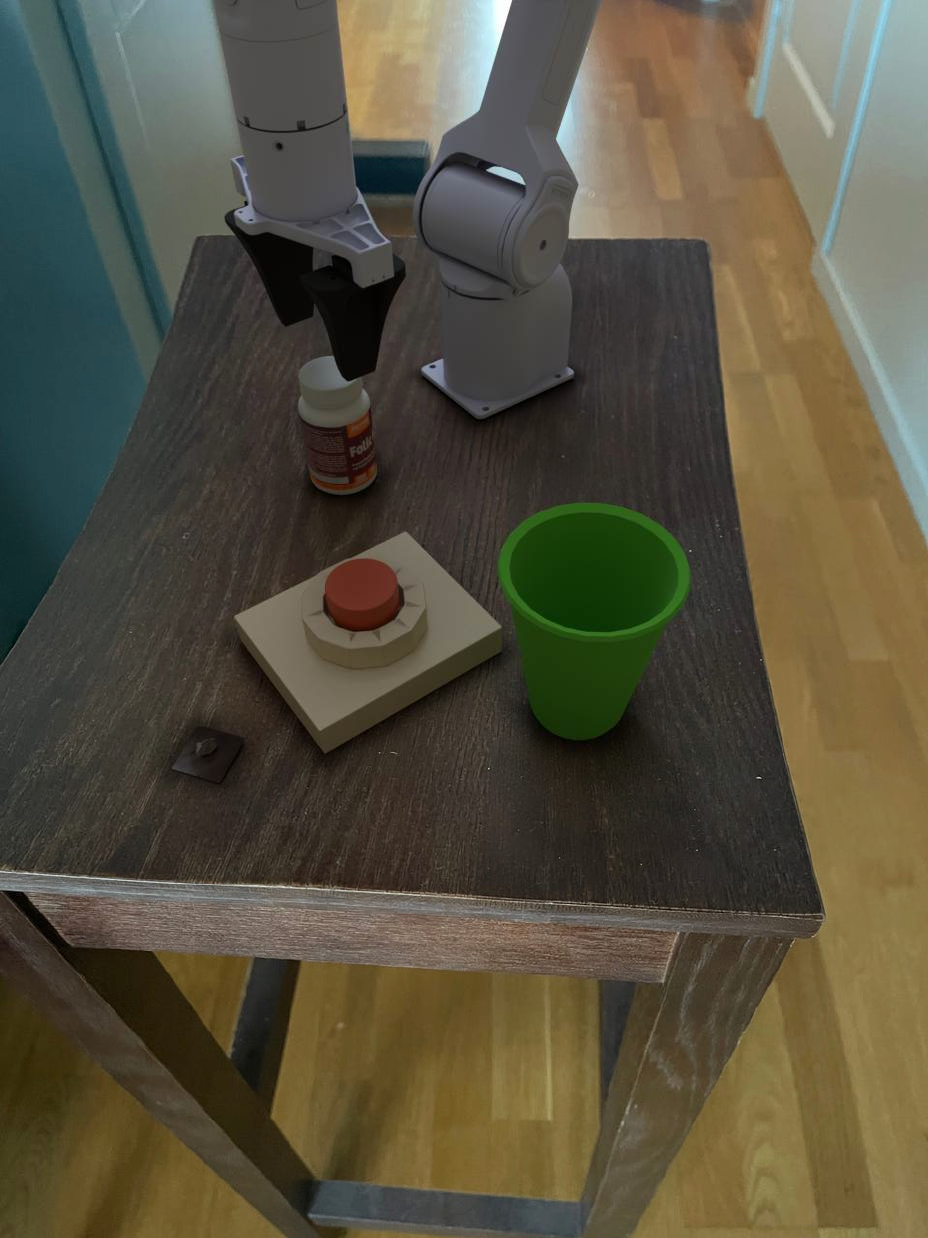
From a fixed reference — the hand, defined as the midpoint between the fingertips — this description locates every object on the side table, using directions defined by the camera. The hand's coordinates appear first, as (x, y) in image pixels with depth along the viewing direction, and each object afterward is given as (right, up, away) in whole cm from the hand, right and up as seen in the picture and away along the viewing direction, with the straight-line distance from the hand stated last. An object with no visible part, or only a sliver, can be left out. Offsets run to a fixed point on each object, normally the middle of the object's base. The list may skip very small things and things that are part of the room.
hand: (326, 345), depth 57 cm
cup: (+15, -22, -6) cm, 27 cm away
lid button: (+3, -16, -6) cm, 17 cm away
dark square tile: (-5, -25, -8) cm, 26 cm away
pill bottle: (0, -7, +8) cm, 10 cm away
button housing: (+3, -19, -3) cm, 19 cm away
